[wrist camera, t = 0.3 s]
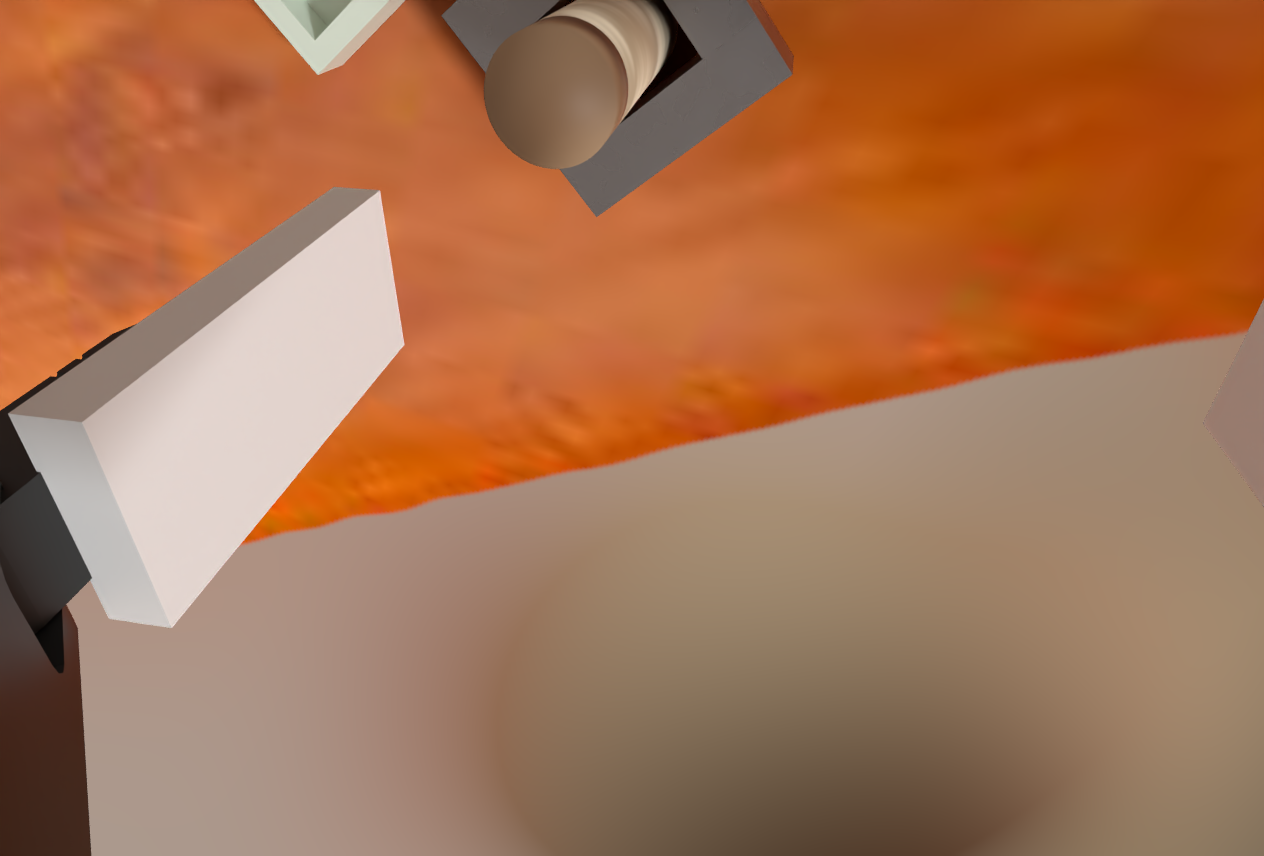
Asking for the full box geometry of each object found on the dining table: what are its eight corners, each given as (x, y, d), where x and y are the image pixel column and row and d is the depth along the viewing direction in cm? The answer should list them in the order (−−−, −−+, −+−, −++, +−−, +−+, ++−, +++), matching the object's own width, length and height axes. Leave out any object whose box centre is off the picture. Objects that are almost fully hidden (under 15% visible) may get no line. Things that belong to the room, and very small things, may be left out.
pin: (568, 18, 36) (456, 84, 24) (639, -46, 34) (556, -8, 23) (624, 97, 37) (543, 194, 26) (695, 39, 36) (643, 116, 24)
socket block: (474, 3, 36) (441, 15, 33) (653, -172, 32) (636, -177, 28) (613, 189, 40) (596, 217, 36) (793, 56, 35) (792, 74, 32)
